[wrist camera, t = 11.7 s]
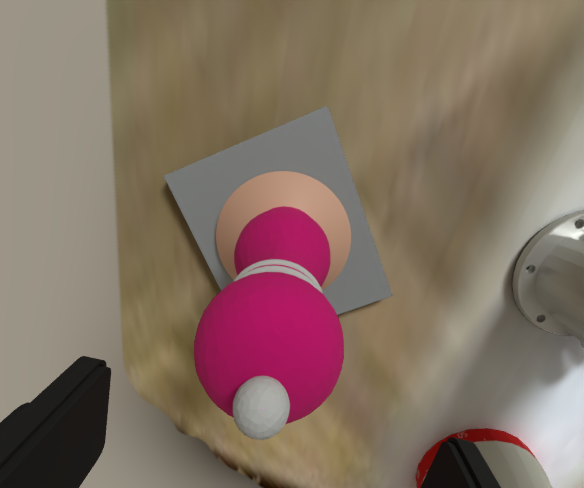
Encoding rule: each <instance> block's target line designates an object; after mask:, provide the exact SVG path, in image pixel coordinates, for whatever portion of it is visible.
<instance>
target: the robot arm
mask: <svg viewBox="0 0 584 488" xmlns="http://www.w3.org/2000/svg"><path fill="white" fill-rule="evenodd" d="M512 286H513V295H514V298H515V301H516V304H517V306H518V308H519V309H520V311H521V312H522V314H523V315H524V316H525V317H526V318H527V319H528V320H529V321H531V322H532V323H533V324H535V325H536V326H538V327H539V328H541V329H543V330H545V331H547V332H549V333H553V334H557V335H561V336H575V337H576V338H578V339H579V340H581V345H582V347H583V348H584V210H583V211H578V212H575V213H572V214H569V215H566V216H564V217H562V218H560V219H558V220H556V221H554V222H552V223H551V224H549V225H548V226H546V227H545V228H544V229H542V230H541V231H540V232H539V233H538V234H537V235H536V236H535V237H534V238H533V239H532V240H531V241H530V242H529V243H528V245H527V246H526V247H525V249H524V250H523V252H522V254H521V256H520V258H519V259H518V261H517V264H516V267H515V271H514V274H513V284H512ZM110 378H111V369H110V368H108V367H106V362H105V361H104V360H99V359H95V358H90V357H86V356H82V357H80V358H79V359H77V360H76V361H75V362H74V363H73V364H72V365H71V366H70V367H69V368H68V369H66V370H65V371H64V372H63V373H62V374H61V375H60V376H59V377H58V378H57V379H56V380H54V381H53V382H52V383H51V384H50V385H49V386H48V387H47V388H46V389H45V390H43V391H42V392H41V393H40V394H39V395H38V396H37V397H36V398H35V399H34V400H33V401H32V402H30V403H25V404H23V405H21V406H19V407H18V408H17V409H15V410H14V411H13V412H12V413H11V414H10V415H9V416H7V417H6V418H5V419H4V420H3V421H2V422H1V423H0V488H79V487H80V485H81V484H82V482H83V481H84V479H85V478H86V476H87V475H88V473H89V472H90V470H91V469H92V467H93V466H94V464H95V463H96V461H97V460H98V458H99V456H100V455H101V453H102V450H103V448H104V444H105V436H106V425H107V413H108V402H109V390H110ZM420 488H501V487H500V485H499V483H498V481H497V480H496V478H495V476H494V475H493V473H492V471H491V470H490V468H489V466H488V464H487V463H486V461H485V459H484V458H483V456H482V454H481V453H480V451H479V449H478V448H477V446H476V445H475V443H473V442H472V441H468V440H463V439H459V438H454V437H450V438H448V439H447V441H446V442H445V441H444V442H442V443H441V445H440V447H439V449H438V451H437V453H436V455H435V457H434V460H433V462H432V464H431V466H430V468H429V470H428V472H427V474H426V477H425V479H424V481H423V483H422V485H421V487H420Z"/></svg>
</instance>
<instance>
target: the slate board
mask: <svg viewBox="0 0 584 488" xmlns="http://www.w3.org/2000/svg"><path fill="white" fill-rule="evenodd" d="M164 177H165V179H166V181H167V183H168V185H169V187H170V189H171V191H172V193H173V195H174V197H175V200H176V202H177V204H178V206H179V208H180V210H181V212H182V214H183V216H184V218H185V220H186V222H187V224H188V226H189V228H190V230H191V232H192V234H193V236H194V238H195V240H196V242H197V244H198V246H199V248H200V250H201V252H202V254H203V256H204V258H205V260H206V262H207V264H208V266H209V268H210V270H211V272H212V274H213V276H214V278H215V280H216V282H217V284H218V286H219V288H220V290H221V291H222V290H223V289H224V288H225V287H226V286H227V285H228V284H230V283H232V282H233V281H234V279H235V278H236V277H237V273H236V269H235V264H234V251H235V246H236V243H237V240H238V238H239V235H240V233H241V231H242V230H243V228H244V227H245V226H246V225H247V224H248V222H249V221H250V220H252V219H253V218H254V217H256V216H257V215H259V214H261V213H263V212H266V211H268V210H270V209H272V208H276V207H282V206H287V207H294V208H297V209H300V210H301V211H303V212H305V213H306V214H307V215H309V216H310V217H311V218H312V219H313V220H314V221H316V222H317V223H318V224H319V226H320V227H321V228H322V229H323V231H324V233H325V234H326V236H327V239H328V242H329V246H330V262H331V264H330V268H329V272H328V275H327V277H326V279H325V281H324V283H323V285H322V287H321V289H322V292H323V294H324V295H325V297H326V298H327V300H328V301H329V302H330V304H331V305H332V307H333V308H334V310H335V312H336V314H337V315H338V314H341V313H344V312H347V311H350V310H353V309H356V308H359V307H362V306H364V305H367V304H370V303H373V302H376V301H379V300H382V299H385V298H388V297H390V296H392V293H391V290H390V287H389V284H388V281H387V278H386V275H385V272H384V269H383V266H382V263H381V261H380V258H379V255H378V252H377V249H376V246H375V243H374V240H373V237H372V234H371V231H370V228H369V225H368V223H367V220H366V217H365V214H364V211H363V208H362V205H361V202H360V199H359V196H358V193H357V190H356V187H355V184H354V182H353V179H352V176H351V173H350V170H349V167H348V164H347V161H346V158H345V155H344V152H343V149H342V146H341V143H340V141H339V138H338V135H337V132H336V129H335V126H334V123H333V120H332V117H331V114H330V111H329V108H328V106H326V107H323V108H321V109H319V110H316V111H314V112H312V113H309V114H307V115H305V116H302V117H300V118H298V119H295V120H293V121H291V122H288V123H286V124H284V125H281V126H279V127H277V128H274V129H272V130H270V131H267V132H265V133H263V134H260V135H258V136H256V137H253V138H251V139H249V140H246V141H244V142H242V143H239V144H237V145H235V146H232V147H230V148H228V149H225V150H223V151H221V152H218V153H216V154H214V155H211V156H209V157H207V158H204V159H202V160H200V161H197V162H195V163H193V164H190V165H188V166H186V167H183V168H181V169H179V170H176V171H174V172H172V173H169V174H167V175H165V176H164Z"/></svg>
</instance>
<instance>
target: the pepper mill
mask: <svg viewBox="0 0 584 488" xmlns="http://www.w3.org/2000/svg"><path fill="white" fill-rule="evenodd" d="M234 264H235V269H236V273H237V277H236V278H235V279H234V281H233V282H232V283H230V284H228V285H227V286H226V287H225V288H224V289H223V290H222V291H221V292H220V293H218V294H217V295H216V296H215V297H214V298H213V299H212V301H211V302H210V304H209V305H208V306H207V308H206V309H205V311H204V313H203V315H202V318H201V320H200V322H199V325H198V328H197V332H196V336H195V341H194V359H195V367H196V372H197V375H198V377H199V380H200V382H201V384H202V386H203V388H204V389H205V391H206V393H207V394H208V396H209V398H210V399H211V400H212V401H213V402H214V403H215V404H216V405H217V406H218V407H219V408H220V409H221V410H223V411H224V412H225V413H227V414H228V415H230V416H232V417H234V421H235V423H236V425H237V427H238V428H239V430H240V431H241V432H242V433H243V434H244V435H246V436H248V437H250V438H252V439H259V440H264V439H268V438H270V437H272V436H274V435H276V434H277V433H279V431H280V430H281V429H282V428H283V426H284V425H285V424H288V423H290V422H293V421H296V420H299V419H301V418H303V417H305V416H307V415H309V414H310V413H311V412H313V411H314V410H315V409H316V408H318V407H319V406H320V405H321V404H322V403H323V402H324V401H325V400H326V399H327V397H328V396H329V395H330V394H331V392H332V390H333V388H334V386H335V384H336V383H337V380H338V378H339V375H340V372H341V369H342V364H343V359H344V339H343V332H342V327H341V324H340V321H339V318H338V316H337V314H336V312H335V310H334V308H333V307H332V305H331V304H330V302H329V301H328V300H327V298H326V297H325V295H324V294H323V292H322V289H321V287H322V285H323V283H324V281H325V279H326V277H327V275H328V272H329V268H330V264H331V262H330V246H329V242H328V239H327V236H326V234H325V233H324V231H323V229H322V228H321V227H320V226H319V224H318V223H317V222H316V221H314V220H313V219H312V218H311V217H310V216H309V215H307V214H306V213H305V212H303V211H301V210H300V209H297V208H294V207H287V206H282V207H276V208H272V209H270V210H268V211H266V212H263V213H261V214H259V215H257V216H256V217H254V218H253V219H252V220H250V221H249V222H248V224H247V225H246V226H245V227H244V228H243V230H242V231H241V233H240V235H239V238H238V240H237V243H236V246H235V251H234Z"/></svg>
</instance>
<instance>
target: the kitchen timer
mask: <svg viewBox="0 0 584 488" xmlns="http://www.w3.org/2000/svg"><path fill="white" fill-rule="evenodd" d="M450 437H454V438H459V439H463V440H468V441H472V442H473V443H475V445H476V446H477V448H478V449H479V451H480V453H481V454H482V456H483V458H484V459H485V461H486V463H487V464H488V466H489V468H490V470H491V471H492V473H493V475H494V476H495V478H496V480H497V481H498V483H499V485H500V487H501V488H552V486H551V484H550V482H549V479H548V477H547V475H546V473H545V471H544V470H543V468H542V466H541V465H540V463H539V461H538V460H537V459H536V457H535V456H534V455H533V453H532V452H531V451H530V450H529V448H528V447H527V446H526V445H525V444H524V443H523V442H522V441H520V440H519V439H518V438H517V437H515V436H513V435H511V434H508V433H506V432H504V431H499V430H493V429H487V428H486V429H469V430H466V431H462V432H459V433H455V434H452V435H450V436H448V437H446V438H445V439H443V440H441V441H439V442H437V443H436V444H435V445H434V446H433V447H432V448H431V449H430V450H429V451H428V452H426V453H425V455H424V457H423V458H422V460H421V462H420V463H419V465H418V469H417V474H416V482H417V488H420V487H421V485H422V483H423V481H424V479H425V477H426V474H427V472H428V470H429V468H430V466H431V464H432V462H433V460H434V457H435V455H436V453H437V451H438V449H439V447H440V445H441V443H442V442H444V441H445V442H446V441H447V439H448V438H450Z"/></svg>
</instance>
